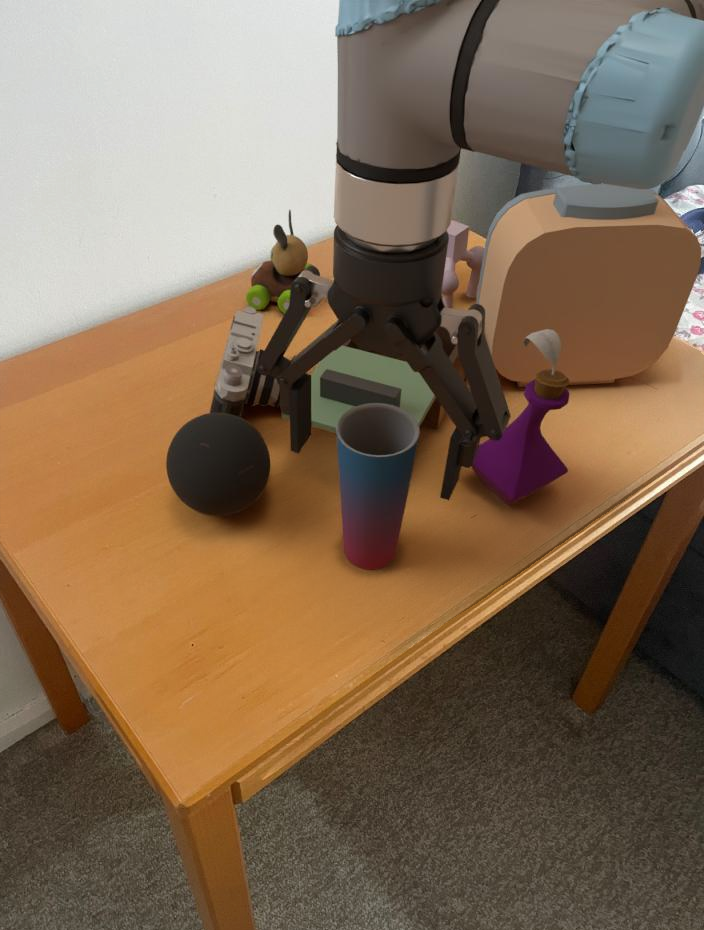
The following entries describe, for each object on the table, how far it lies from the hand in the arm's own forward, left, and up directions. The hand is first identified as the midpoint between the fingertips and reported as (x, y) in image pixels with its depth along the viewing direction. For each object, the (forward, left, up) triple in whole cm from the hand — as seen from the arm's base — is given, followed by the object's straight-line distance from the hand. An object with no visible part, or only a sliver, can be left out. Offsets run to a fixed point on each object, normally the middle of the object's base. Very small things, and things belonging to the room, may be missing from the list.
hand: (373, 465), depth 64 cm
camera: (+20, -15, -11) cm, 27 cm away
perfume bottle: (-10, -14, -11) cm, 20 cm away
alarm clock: (-10, -37, -11) cm, 40 cm away
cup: (0, 0, -11) cm, 11 cm away
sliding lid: (+6, -13, -4) cm, 15 cm away
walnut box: (+6, -26, -11) cm, 29 cm away
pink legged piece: (+13, -47, -11) cm, 50 cm away
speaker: (+16, 0, -11) cm, 19 cm away
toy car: (+28, -38, -11) cm, 48 cm away
